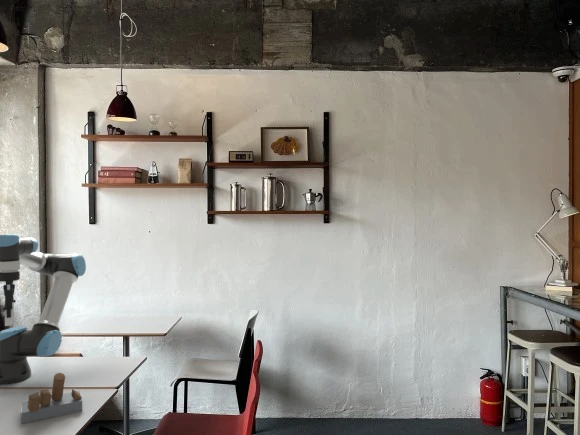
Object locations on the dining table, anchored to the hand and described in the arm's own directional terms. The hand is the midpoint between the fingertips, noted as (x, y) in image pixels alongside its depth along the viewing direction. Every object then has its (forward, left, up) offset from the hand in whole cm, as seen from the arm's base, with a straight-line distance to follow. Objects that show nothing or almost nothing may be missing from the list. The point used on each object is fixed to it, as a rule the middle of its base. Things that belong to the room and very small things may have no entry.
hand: (9, 321), depth 182 cm
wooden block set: (+27, +15, -28) cm, 41 cm away
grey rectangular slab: (+24, +15, -32) cm, 42 cm away
